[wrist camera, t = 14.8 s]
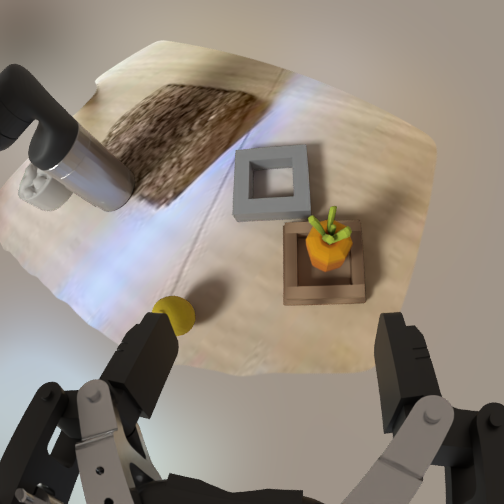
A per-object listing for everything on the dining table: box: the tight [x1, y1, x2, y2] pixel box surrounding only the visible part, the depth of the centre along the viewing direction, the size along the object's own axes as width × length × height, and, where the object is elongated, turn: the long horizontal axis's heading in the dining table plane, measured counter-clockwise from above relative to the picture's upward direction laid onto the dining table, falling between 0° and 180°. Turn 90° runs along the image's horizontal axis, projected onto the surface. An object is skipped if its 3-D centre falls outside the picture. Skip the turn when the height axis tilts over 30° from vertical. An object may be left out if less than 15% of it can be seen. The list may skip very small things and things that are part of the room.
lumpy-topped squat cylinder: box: [18, 163, 73, 211], centre depth 54 cm, size 10×13×9 cm
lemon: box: [152, 296, 195, 336], centre depth 40 cm, size 6×6×8 cm
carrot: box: [306, 206, 353, 272], centre depth 33 cm, size 5×5×15 cm
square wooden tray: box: [283, 220, 366, 305], centre depth 40 cm, size 11×11×4 cm
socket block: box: [232, 145, 311, 222], centre depth 45 cm, size 11×11×3 cm
